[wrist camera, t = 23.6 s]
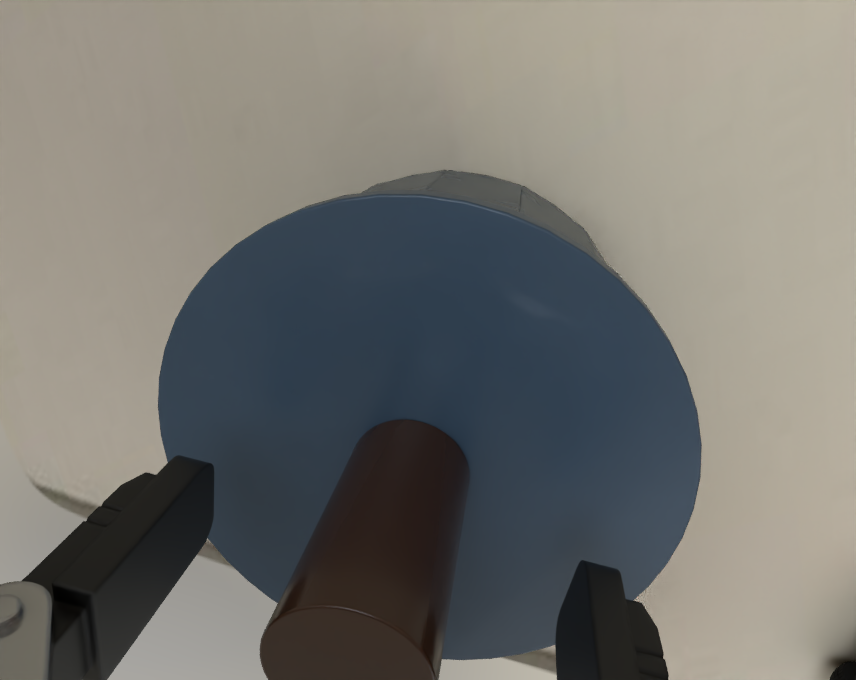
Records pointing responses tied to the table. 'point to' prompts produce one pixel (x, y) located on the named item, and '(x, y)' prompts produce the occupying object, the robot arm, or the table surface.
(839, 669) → the toy car
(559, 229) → the tin
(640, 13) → the table surface
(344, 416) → the lid
